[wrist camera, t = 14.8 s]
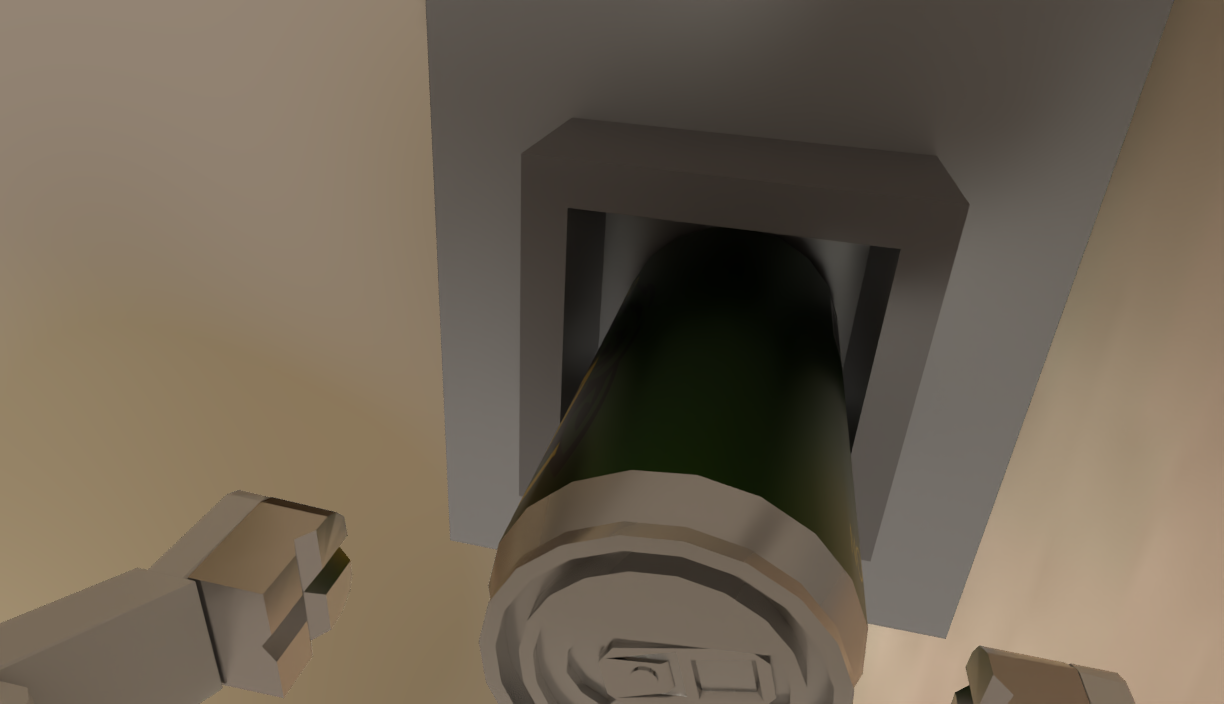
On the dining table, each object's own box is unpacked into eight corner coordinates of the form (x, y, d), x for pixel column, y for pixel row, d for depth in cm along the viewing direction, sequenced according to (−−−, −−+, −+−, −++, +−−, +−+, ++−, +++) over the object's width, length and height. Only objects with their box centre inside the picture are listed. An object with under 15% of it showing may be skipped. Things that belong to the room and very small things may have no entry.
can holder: (436, -161, 18) (320, -196, 14) (1196, -123, 16) (1350, -153, 11) (461, 521, 27) (396, 628, 23) (940, 614, 25) (970, 755, 20)
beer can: (824, 201, 19) (854, 509, 8) (845, 396, 21) (889, 834, 11) (611, 233, 20) (410, 527, 10) (650, 411, 23) (520, 808, 12)
